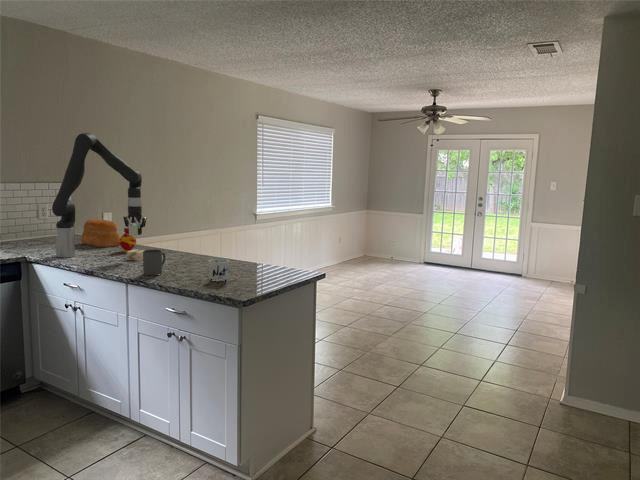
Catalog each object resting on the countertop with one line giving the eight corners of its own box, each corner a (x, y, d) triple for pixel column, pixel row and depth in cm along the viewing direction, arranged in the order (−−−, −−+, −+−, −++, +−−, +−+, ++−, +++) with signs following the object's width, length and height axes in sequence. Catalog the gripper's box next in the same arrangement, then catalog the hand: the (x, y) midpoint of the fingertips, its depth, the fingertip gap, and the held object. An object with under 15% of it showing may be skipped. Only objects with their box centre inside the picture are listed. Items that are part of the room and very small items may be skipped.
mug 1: (153, 276, 246) (152, 253, 244) (139, 274, 250) (138, 251, 248) (172, 272, 258) (171, 249, 256) (158, 269, 262) (158, 247, 260)
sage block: (129, 235, 285) (128, 225, 284) (134, 234, 289) (133, 224, 289) (136, 236, 284) (136, 225, 283) (141, 235, 288) (141, 224, 288)
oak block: (126, 260, 286) (126, 251, 285) (135, 257, 294) (135, 249, 293) (138, 261, 284) (138, 252, 283) (147, 258, 292) (146, 250, 291)
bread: (102, 248, 320) (101, 222, 318) (78, 244, 334) (77, 218, 332) (123, 245, 333) (122, 220, 331) (100, 241, 347) (99, 217, 345)
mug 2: (210, 283, 236) (210, 263, 235) (204, 276, 250) (204, 257, 248) (231, 282, 240) (231, 261, 239) (225, 275, 254) (225, 256, 252)
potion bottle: (115, 252, 309) (114, 228, 307) (127, 249, 318) (127, 226, 316) (128, 253, 305) (127, 229, 303) (140, 251, 314) (139, 227, 312)
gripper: (119, 205, 282) (120, 234, 284) (142, 206, 279) (143, 235, 281) (127, 204, 289) (128, 232, 291) (149, 205, 286) (150, 234, 289)
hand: (135, 234), depth 286 cm, fingers closed on sage block, 5 cm apart
